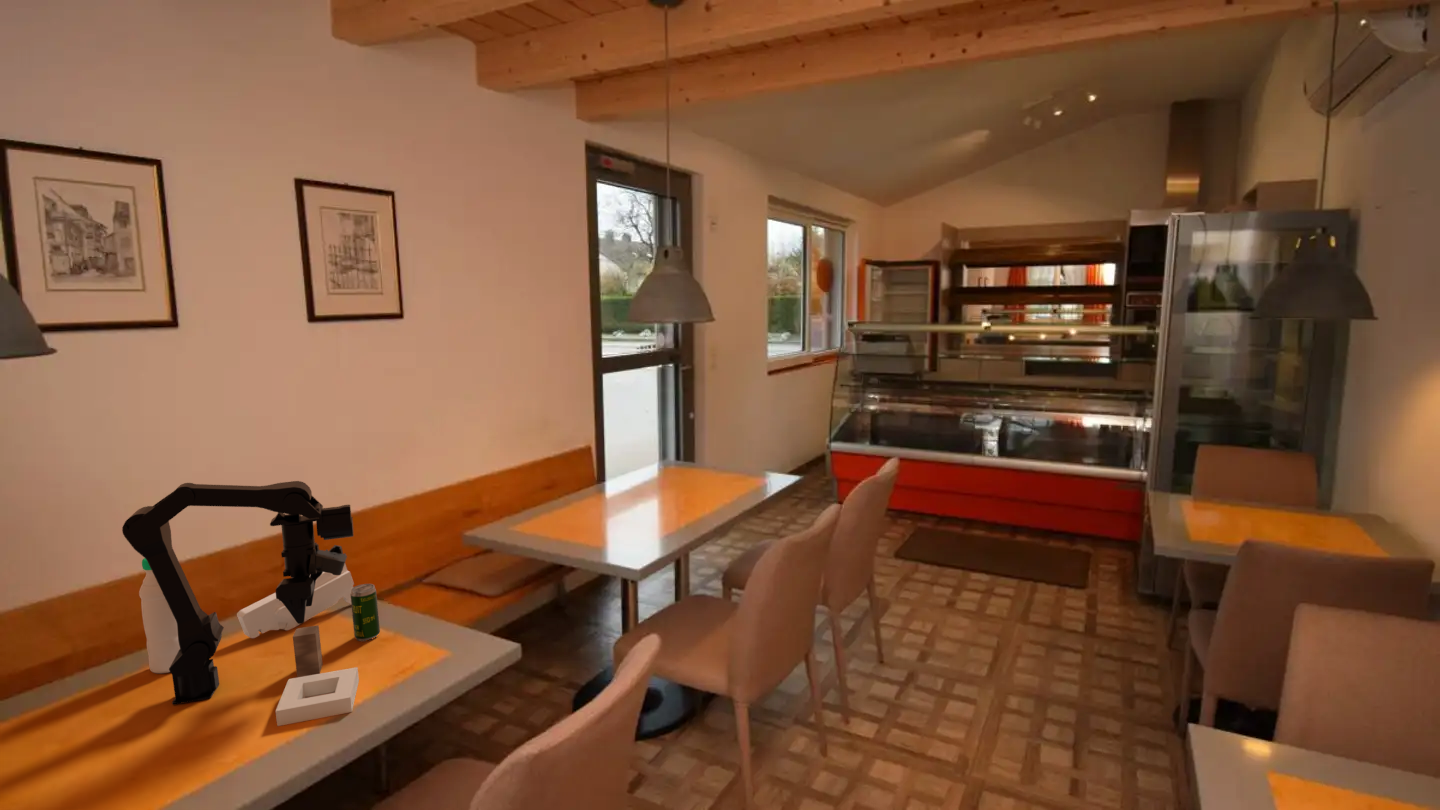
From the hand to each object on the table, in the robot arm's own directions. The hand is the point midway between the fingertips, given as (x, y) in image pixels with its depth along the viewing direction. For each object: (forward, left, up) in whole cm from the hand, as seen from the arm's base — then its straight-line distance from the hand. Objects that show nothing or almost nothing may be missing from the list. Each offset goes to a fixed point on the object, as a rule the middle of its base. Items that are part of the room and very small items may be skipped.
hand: (305, 614), depth 155 cm
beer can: (+10, +13, -13) cm, 21 cm away
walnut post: (0, 0, -13) cm, 13 cm away
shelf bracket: (-6, +28, -13) cm, 32 cm away
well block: (+4, -15, -13) cm, 20 cm away
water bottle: (-29, +14, -13) cm, 35 cm away
